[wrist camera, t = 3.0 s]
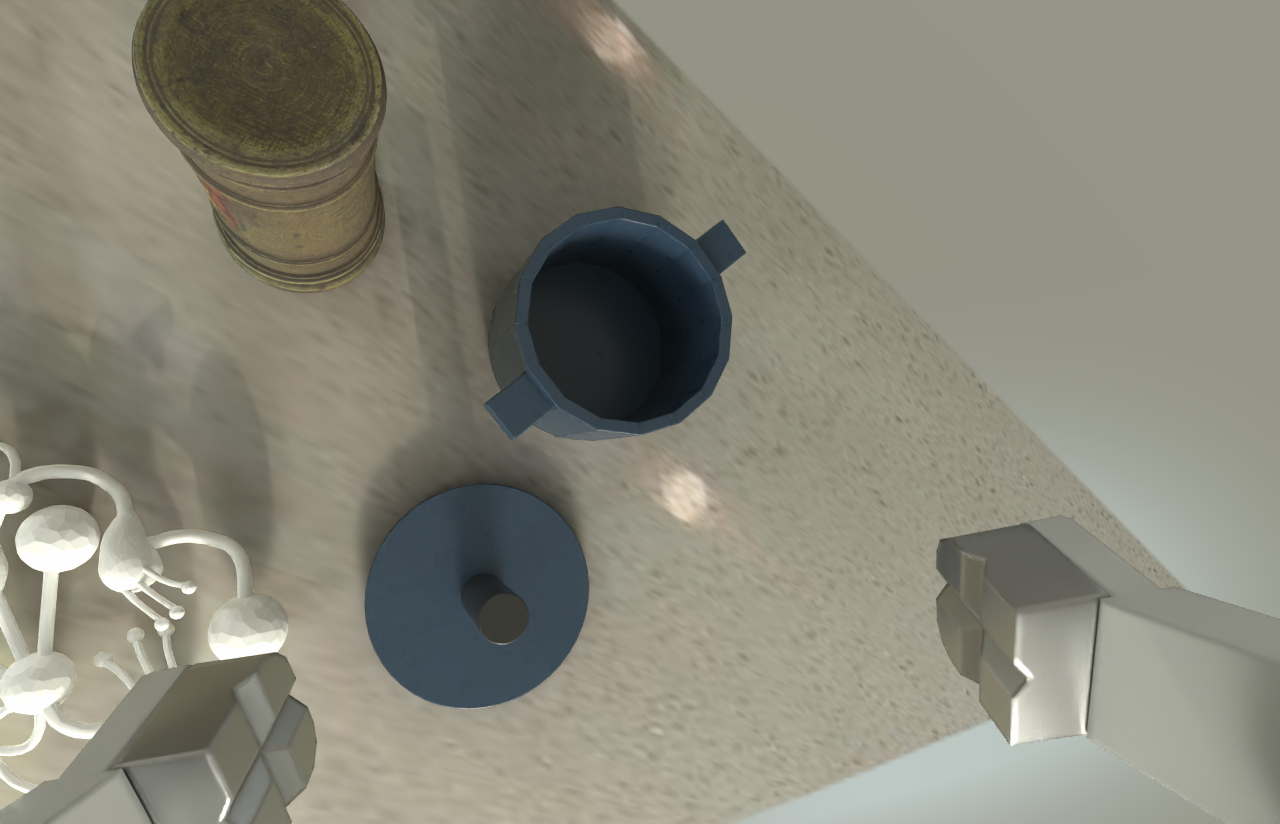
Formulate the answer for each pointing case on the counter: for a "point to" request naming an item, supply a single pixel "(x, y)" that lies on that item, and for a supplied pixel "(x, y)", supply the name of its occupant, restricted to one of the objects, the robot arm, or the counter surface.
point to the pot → (612, 327)
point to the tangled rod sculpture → (123, 567)
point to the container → (273, 128)
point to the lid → (476, 596)
